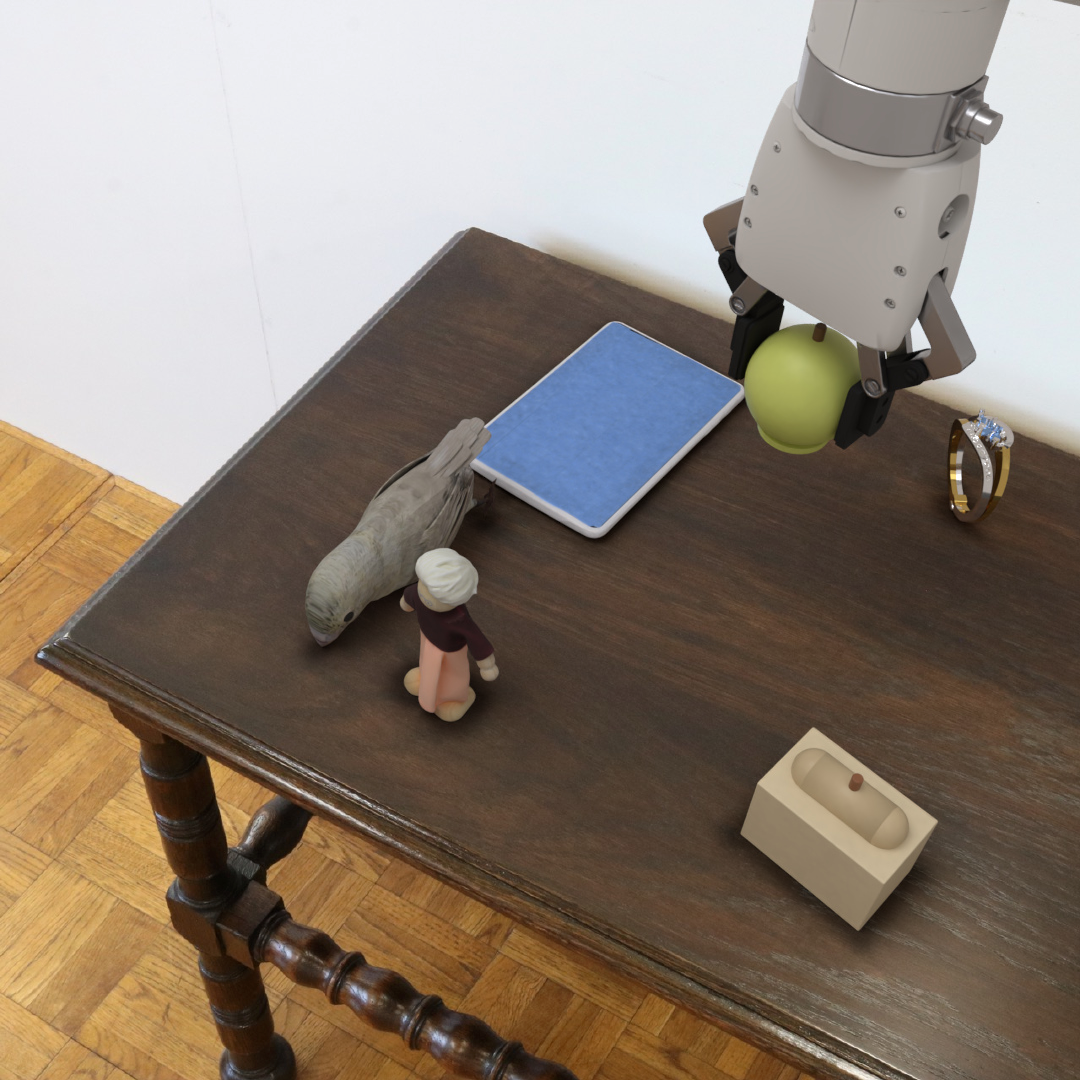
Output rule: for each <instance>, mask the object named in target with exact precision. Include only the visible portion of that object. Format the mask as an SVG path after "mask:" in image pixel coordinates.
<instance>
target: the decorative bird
mask: <svg viewBox="0 0 1080 1080" xmlns="http://www.w3.org/2000/svg"><path fill="white" fill-rule="evenodd" d="M484 426H485V421H483V419H481V418H479V417H475V416H474V417H472V418H471V419H469V418H463V419H462V420H460V422H459V423H458V424H457V426H455V428H453V429H450V430H449V431H448V432H447V433H446V434H445V436H444V437H443V438H442V440H441V441H440V442H439V443H438V445H437V446H436V447H435V448H433V449H432V450H431V451H429V452H427V453H425V454H424V455H421V456H419V457H417V458H416V459H413V460H412V461H410V462H409V463H407V464H405V465H404V466H403V467H401V468H399V470H397V471H395V472H394V473H393V474H392V475H391V476H390V477H389V478H388V479H387V480H386V481H385V482H383V484H382V485H381V487H380V488H379V489H378V490H377V491H376V493H375V494H374V496H373V497H372V498H371V501H369V503H368V505H367V506H366V508H365V510H364V512H363V513H362V515H361V518H360V520H359V522H358V523H357V525H356V527H355V528H354V530H353V531H352V532H351V533H350V534H349V535H348V536H347V537H346V538H345V539H344V540H342V541H341V542H340V543H339V544H338V545H337V546H336V547H335V548H333V549H332V550H331V551H330V552H329V553H328V554H327V555H325V556H324V558H323V559H321V561H320V562H319V563H318V565H317V566H316V568H315V569H314V570H313V572H312V574H311V576H310V578H309V580H308V584H307V586H306V587H307V588H306V591H305V604H304V610H305V616H306V620H307V623H308V627H309V630H310V633H311V634H312V636H313V638H314V640H315V641H316V643H317V644H318V645H319V646H320V647H326V646H328V645H330V644H331V643H333V642H334V641H335V640H336V639H338V637H339V636H340V635H341V634H342V632H343V631H344V630H345V629H346V628H347V626H348V625H350V624H351V623H352V622H354V621H355V620H356V619H357V618H358V617H359V615H360V614H361V613H362V612H363V610H364V609H365V608H366V607H367V605H368V604H369V603H371V602H374V601H378V600H380V599H381V598H383V597H386V596H388V595H390V594H392V593H394V592H395V591H398V590H399V589H402V588H404V587H408V586H410V585H413V584H415V583H416V582H418V581H419V578H418V576H417V574H416V570H415V567H416V563H417V560H418V559H419V557H421V556H422V555H423V554H425V553H426V552H429V551H432V550H435V549H439V548H449V549H450V547H451V545H452V543H453V542H454V540H455V538H456V536H457V534H458V532H459V530H460V528H461V525H462V523H463V521H464V519H465V516H466V514H467V513H468V512H469V511H470V510H471V509H473V508H478V507H481V506H483V505H484V507H483V516H484V518H486V517H487V513H488V510H489V508H490V510H491V513H492V514H493V515H494V516H495V517H496V518H497V519H499V520H501V518H500V516H499V515H498V513H497V510H496V495H495V494H494V491H495V486H496V484H495V483H496V480H497V478H496V479H495V480H494V481H493V482H492V483H491V484H490V487H489V490H488V492H486V493H485V494H484V496H483V498H481V499H480V500H477V499H476V498H473V496H474V495H473V493H474V484H475V474H474V470H473V469H472V468H471V467H470V463H471V462H472V461H473V460H474V459H475V458H476V457H477V456H478V455H479V454H480V452H481V451H482V450H483V446H484V445H485V444H486V443H487V442H488V441H489V440H490V438H491V436H492V435H491V433H490V431H488V430H487V429H486V428H484Z"/></svg>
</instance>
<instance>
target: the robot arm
mask: <svg viewBox="0 0 1080 1080" xmlns="http://www.w3.org/2000/svg"><path fill="white" fill-rule="evenodd" d="M1053 1H1054V2H1059V3H1064V4H1069V5H1072V6H1077V7H1080V0H1053ZM1010 2H1011V0H813V6H812V9H811V13H810V14H811V15H810V19H809V24H808V27H807V33H806V38H805V44H804V46H803V47H804V48H803V51H802V56H801V62H800V66H799V70H798V76H797V80H796V81H795V82H792V84H791V85H789V86H788V87H787V88H786V90H785V91H784V92H783V94H782V97H781V99H780V101H779V102H778V105H777V107H776V109H775V111H774V113H773V116H772V118H771V120H770V122H769V124H768V127H767V129H766V132H765V133H764V136H763V138H762V140H761V141H762V142H761V145H760V147H759V150H758V152H757V155H756V158H755V161H754V164H753V167H752V171H751V174H750V176H749V180H748V184H747V187H746V191H745V193H744V194H745V195H743V196H741V197H739V198H736V199H733V200H731V201H728V202H726V203H724V204H721V205H719V206H718V207H716V208H715V209H713V210H711V211H710V212H708V213H706V214H704V215H703V217H702V224H703V228H704V229H705V231H706V233H707V236H708V238H709V240H710V242H711V244H712V247H713V248H714V251H715V252H718V257H717V264H718V267H719V269H720V271H721V273H722V275H723V278H724V280H725V282H726V284H727V285H728V288H729V290H730V292H731V295H730V297H729V299H728V304H729V308H730V310H731V311H732V313H734V314H735V315H736V316H735V322H734V326H733V330H732V336H731V342H730V346H729V349H730V350H731V356H730V362H729V366H728V370H727V375H728V376H729V378H731V379H732V380H734V381H742V380H745V373H746V370H747V367H748V364H749V361H750V359H751V357H752V355H753V354H754V352H755V351H756V349H757V348H758V347H759V346H760V345H761V343H762V342H764V341H765V340H766V339H767V338H768V337H769V336H771V335H772V334H774V333H775V332H777V331H779V330H781V329H780V328H781V324H782V320H783V317H784V311H785V306H786V305H784V302H785V301H786V302H788V303H790V304H791V305H793V306H794V307H796V308H797V309H799V310H801V311H802V312H805V313H806V314H808V315H809V316H812V317H813V318H815V319H816V320H818V321H819V322H820V323H824V324H826V325H827V327H829V328H832V329H834V330H836V331H838V332H839V333H841V334H842V335H844V336H845V337H846V338H848V339H851V340H852V341H854V342H856V348H857V351H858V359H859V367H860V374H861V380H859V381H858V382H857V383H855V384H854V385H853V386H852V387H851V388H850V389H849V391H848V394H847V397H846V400H845V403H844V407H843V410H842V413H841V417H840V420H839V423H838V426H837V430H836V433H835V436H834V438H833V441H834V445H835V446H837V447H838V448H840V449H842V450H843V451H845V450H847V448H849V447H851V445H853V444H854V443H856V442H857V441H858V440H859V439H860V438H861V437H863V436H864V435H865V436H866V437H867V438H870V437H872V436H874V435H875V434H876V433H877V432H878V431H879V430H880V429H881V428H882V427H883V426H884V424H885V422H886V420H887V417H888V414H889V411H890V408H891V406H892V403H893V399H894V397H895V394H896V391H899V390H905V389H908V388H912V387H913V388H914V387H918V386H920V385H921V384H923V383H924V382H925V383H926V382H929V381H935V380H940V379H943V378H947V377H951V376H956V375H958V374H960V373H962V372H963V371H964V370H966V368H968V367H969V366H970V365H972V364H973V363H974V362H975V361H976V359H977V352H976V348H975V347H974V344H973V343H972V340H971V338H970V336H969V333H968V331H967V329H966V327H965V325H964V323H963V321H962V319H961V316H960V314H959V313H958V310H957V308H956V306H955V304H954V301H953V300H952V298H951V297H952V294H953V292H954V288H955V285H956V282H957V280H958V279H957V278H958V275H959V272H960V268H961V264H962V261H963V257H964V254H965V249H966V245H967V242H968V237H969V234H970V228H971V225H972V220H973V215H974V211H975V204H976V199H977V191H978V185H979V177H980V168H981V153H982V145H984V146H987V145H989V144H990V143H991V142H992V141H993V140H994V139H995V137H996V136H997V135H998V133H999V131H1000V129H1001V127H1002V124H1003V121H1004V115H1003V114H1002V113H1000V112H998V111H996V110H994V109H992V108H990V104H989V103H987V102H984V98H985V97H984V96H985V91H986V88H987V85H988V82H989V80H990V76H989V75H986V73H987V70H988V68H989V64H990V62H991V59H992V55H993V52H994V50H995V46H996V44H997V41H998V39H999V38H998V37H999V35H1000V32H1001V28H1002V26H1003V22H1004V21H1005V17H1006V14H1007V11H1008V8H1009V4H1010ZM917 320H918V321H919V324H920V327H921V329H922V331H923V334H924V335H925V337H926V339H927V341H928V344H929V346H930V347H928V348H927V347H926V348H922V349H919V350H913V348H914V347H913V339H912V338H913V337H912V328H913V326H914V324H915V322H916V321H917Z"/></svg>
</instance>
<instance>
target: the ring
mask: <svg viewBox="0 0 1080 1080" xmlns="http://www.w3.org/2000/svg"><path fill="white" fill-rule="evenodd" d="M985 413H986V409H985V408H981V407H980V408H979V411H978V413H977V415H973V416H971V417H969V418H965V417H964V418H963V417H962V418H955V419H954V420H953V422H952V423H951V424H952V425H951V428H950V432H949V438H948V445H947V457H946V458H947V460H946V476H947V478H946V479H947V488H948V489H947V490H948V497H949V501H948V502H949V503H948V505H949V509H950V511H953V513H954V515H955V518H956V519H958V520H959V521H960V522H964V523H965V522H966V523H974V524H975V523H976V524H977V523H981V522H983V521H985V520H986V519H988V518H989V517H990V515H991V514H992V513H993V512H994V511H995V509H996V508H997V506H998V504H999V503H1000V501H1001V499H1002V497H1003V494H1004V492H1005V489H1006V486H1007V482H1008V478H1009V474H1010V465H1011V447H1012V445H1013V443H1014V442H1015V441H1014V440H1015V436H1014V433H1013V431H1012V428H1010V427H1009V425H1007V424H1006V423H1005V422H1004V421H1002V420H1000V419H999V416H991V415H985ZM967 441H968V442H969V443H970V445H971V447H972V449H973V450H974V452H975V454H976V456H977V459H978V461H979V464H980V470H981V485H980V491H979V495H978V498H977V501H976V503H975V505H974V506H973V507H972V509H970V508H969V507H968V505H967V504H968V497H967V495H966V494H964V491H963V484H962V465H963V455H964V451H965V446H966V443H967ZM1000 441H1001V442H1000ZM987 450H988V451H990V452H991V451H994V459H995V468H994V469H995V470H994V474H993V465H992V461H991V458H990V455H989V453H988V451H987ZM993 475H994V477H993Z"/></svg>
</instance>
